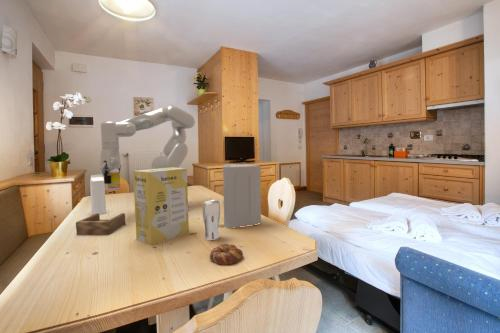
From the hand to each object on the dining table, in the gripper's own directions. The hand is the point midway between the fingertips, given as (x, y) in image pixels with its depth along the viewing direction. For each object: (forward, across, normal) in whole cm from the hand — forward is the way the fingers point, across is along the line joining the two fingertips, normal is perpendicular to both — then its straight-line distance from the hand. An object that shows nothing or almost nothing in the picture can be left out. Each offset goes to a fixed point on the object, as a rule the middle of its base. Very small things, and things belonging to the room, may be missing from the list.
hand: (112, 182), depth 128 cm
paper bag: (+20, +5, +63) cm, 66 cm away
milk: (+20, -15, -17) cm, 30 cm away
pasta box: (+20, +20, +33) cm, 44 cm away
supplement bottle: (+4, 0, 0) cm, 4 cm away
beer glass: (+20, +23, +54) cm, 62 cm away
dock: (+20, +13, +2) cm, 24 cm away
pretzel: (+20, +41, +62) cm, 77 cm away
